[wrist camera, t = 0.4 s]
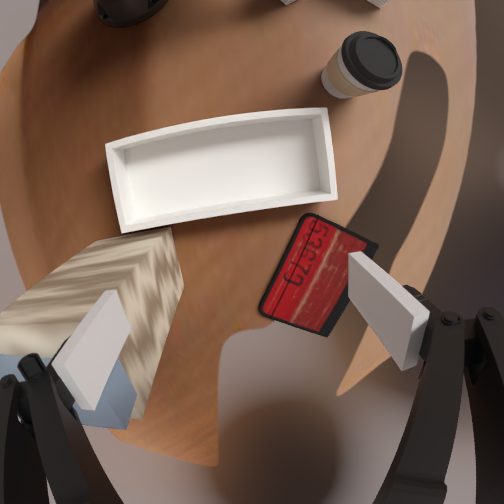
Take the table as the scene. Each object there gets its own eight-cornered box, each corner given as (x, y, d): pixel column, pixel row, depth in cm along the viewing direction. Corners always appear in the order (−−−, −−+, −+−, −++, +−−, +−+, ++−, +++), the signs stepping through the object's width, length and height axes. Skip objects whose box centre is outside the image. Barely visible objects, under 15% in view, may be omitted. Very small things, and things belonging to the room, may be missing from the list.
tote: (119, 145, 41) (105, 144, 35) (315, 113, 42) (326, 107, 36) (134, 224, 45) (121, 233, 40) (325, 194, 46) (337, 199, 40)
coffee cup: (347, 115, 42) (392, 100, 28) (305, 83, 40) (335, 53, 26) (370, 80, 40) (417, 58, 26) (330, 49, 38) (366, 15, 24)
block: (-35, 348, 18) (-51, 365, 14) (119, 358, 18) (102, 394, 15) (-21, 374, 19) (-35, 391, 15) (137, 394, 20) (126, 429, 16)
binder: (380, 245, 48) (328, 338, 53) (375, 242, 50) (325, 332, 55) (305, 209, 45) (255, 315, 51) (302, 207, 48) (254, 309, 53)
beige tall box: (95, 241, 46) (-14, 325, 17) (170, 226, 46) (91, 321, 17) (112, 295, 49) (34, 405, 21) (184, 285, 49) (142, 419, 21)
